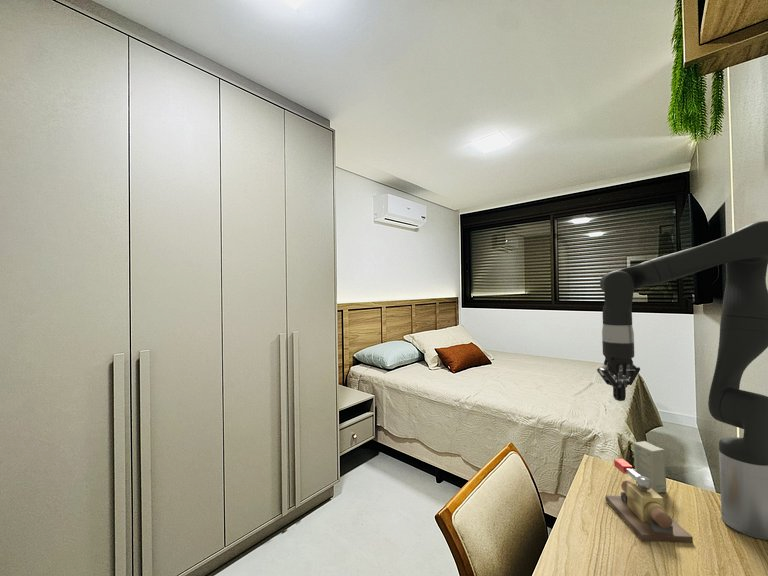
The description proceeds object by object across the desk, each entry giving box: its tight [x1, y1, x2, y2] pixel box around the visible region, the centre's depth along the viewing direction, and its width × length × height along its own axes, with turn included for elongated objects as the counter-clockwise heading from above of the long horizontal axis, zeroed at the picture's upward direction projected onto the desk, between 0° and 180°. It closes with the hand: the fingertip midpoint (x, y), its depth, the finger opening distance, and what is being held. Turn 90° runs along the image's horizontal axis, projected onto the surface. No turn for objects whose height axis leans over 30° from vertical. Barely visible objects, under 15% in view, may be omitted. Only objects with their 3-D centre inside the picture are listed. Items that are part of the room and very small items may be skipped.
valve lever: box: [613, 458, 651, 490], centre depth 89 cm, size 11×3×2 cm, turn 177°
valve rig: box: [605, 480, 694, 544], centre depth 85 cm, size 15×11×8 cm
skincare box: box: [633, 440, 668, 494], centre depth 99 cm, size 6×4×12 cm
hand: (619, 400), depth 96 cm, fingers closed
